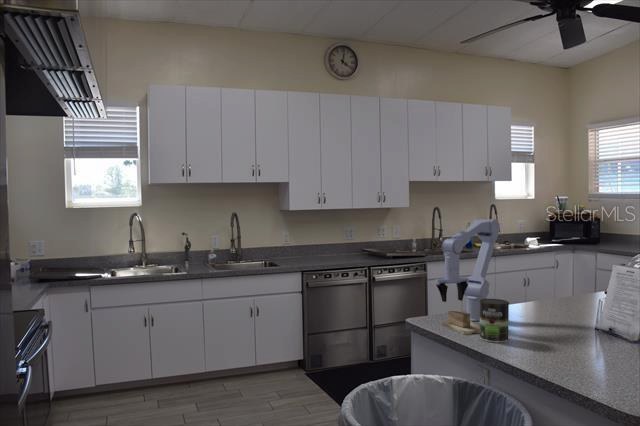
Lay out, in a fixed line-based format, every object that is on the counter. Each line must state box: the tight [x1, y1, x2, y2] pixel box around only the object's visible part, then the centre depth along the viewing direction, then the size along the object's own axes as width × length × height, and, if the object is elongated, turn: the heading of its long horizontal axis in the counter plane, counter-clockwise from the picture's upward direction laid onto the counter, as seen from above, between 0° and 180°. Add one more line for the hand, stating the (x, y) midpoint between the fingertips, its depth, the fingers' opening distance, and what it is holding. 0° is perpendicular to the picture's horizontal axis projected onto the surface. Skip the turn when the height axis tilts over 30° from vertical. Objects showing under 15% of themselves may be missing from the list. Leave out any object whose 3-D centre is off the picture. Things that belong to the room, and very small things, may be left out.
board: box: [441, 320, 480, 335], centre depth 203 cm, size 12×16×1 cm
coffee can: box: [479, 298, 510, 344], centre depth 187 cm, size 10×10×14 cm
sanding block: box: [447, 309, 471, 328], centre depth 204 cm, size 4×8×5 cm, turn 30°
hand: (452, 300), depth 209 cm, fingers open, 7 cm apart
